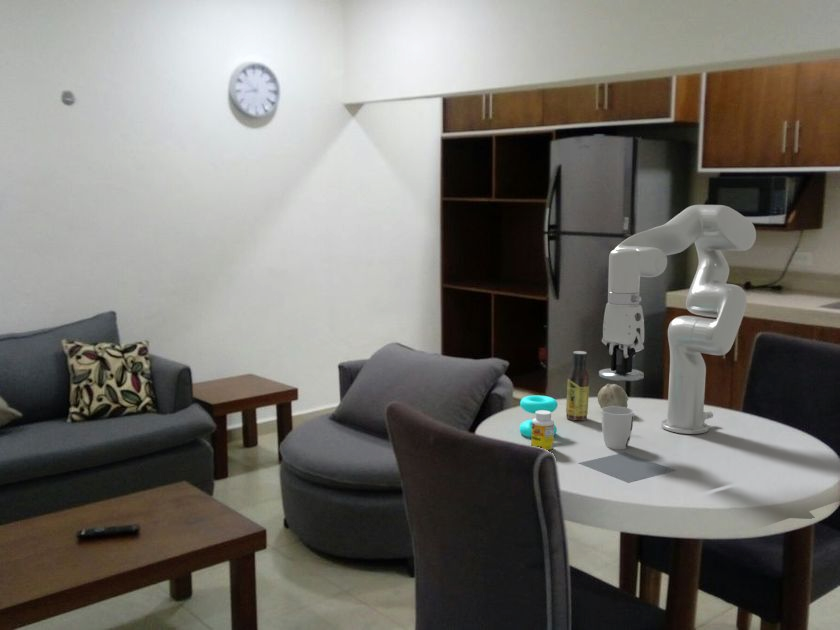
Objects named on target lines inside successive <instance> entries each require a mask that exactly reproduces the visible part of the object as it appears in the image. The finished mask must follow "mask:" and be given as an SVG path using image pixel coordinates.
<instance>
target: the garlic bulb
mask: <svg viewBox="0 0 840 630" xmlns="http://www.w3.org/2000/svg"><path fill="white" fill-rule="evenodd" d="M628 401H629V396H628V395H627V393H626V391H625V389H624V388H623V387H622V386H620V385H618V384H616V383H612V384H611V383H607V384H606V385H604V386H603V387H602V388H600V390H599V392H598V394H597V403H598V404H599V408H600V409H602V408H604V407H625V408H628Z"/></svg>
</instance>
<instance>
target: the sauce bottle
mask: <svg viewBox="0 0 840 630" xmlns="http://www.w3.org/2000/svg"><path fill="white" fill-rule="evenodd" d="M587 358H588V352H587V351H583V350H582V351H581V350H576V351H573V352H572V367H571V369H570V370H569V371H570V372H569V374H568V377H567V385H566V386H567V387H566V403H565V414H566V415H565V416H566V419H568V420H570V421H573V420H578V421H577V422H580V421H579V420H583V421H586V420H587V418H588V413H589V396H590V394H589V393H590V374H589V372H588V370H587Z"/></svg>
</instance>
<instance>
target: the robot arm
mask: <svg viewBox="0 0 840 630" xmlns="http://www.w3.org/2000/svg"><path fill="white" fill-rule="evenodd" d="M756 239H757V232H756V228H755V225H754V224H753V222H752V221H751V220H749V219H748V218H747V217H746V216H745V215H743V214H741V213H740V212H739V211H737V210H735V209H733V208H732V207H730V206H727V205H722V204H694V205H690V206H688V207H686V208H685V209H683V210H682V211H680V213H678V214H676V215H675V216H674V217H673V218H672V219H670V220H669V221H667V222H666V223H664V224H662V225H658V226H655V227H652V228H649V229H647V230H644V231H641V232H638V233H635V234H633V235H631V236H629V237H627V238H626V239H624V240H623V241H621V242H620V243H619V244H618V245H617V246H616V247H615V248H614V249H613V250H611V251H610V253H609V256H608V280H607V281H608V284H607V286H608V287H607V290H608V291H607V303H606V304H605V309H604V315H603V324H602V338H601V342H602V344H604V345H605V346H606V348H607V350H608V353H609V355H610V356H611V357H610V368H611V370H612V371H616V349H618V348H622V346H623V348H624V357H623V358H622V370H621V372H622V373H629V372H632V369H633V358H634V357H635V356H636V354H637V353H638V352H640V351H642V350H644V349H645V346H644V342H645V320H644V311H643V307H642V305H640V303H641V301H642V300H643V299H642V297H641V296H640V282H641V281H640V280H641V277H644V278H654V277H655V278H656V277H658V276H661V275H662V274H663V273H664V272H665V271H666V269H667V265H668V258H667V256H671V255H676V254H679V253H681V252H684V251H685V250H686V249H688V248H689V247H690V246H691V245H693V244H694V245H695V249H696V253H697V258H698V265H697V268H696V272H695V274H694V277H693V280H692V282H691V284H690V288H689V290H688V292H687V295H686V299H685V307H686V309H687V311H688V312H690V313H691V314H694V315H697V316H694V315H679V316H677V317H675V318H673V319H672V320H671V321H670V322H669V325H668V328H667V338H668V339H667V340H668V345H669V377H668V378H669V379H668V395H667V396H668V397H667V416H666V417H667V418H666V419H664V420H663V419H662V421H661V423H660V427H661V428H663V429H664V430H666V431H668V432H671V433H678V434H683V435H684V434H685V435H686V434H687V435H698V434H699V435H700V434H705V433H707V432H708V431H709V425H708V423H706V422H705V421H706V420H708V419H712V418H713V417H714V414H713V412H712V411H704V410H705V409H704V407H705V391H706V375H707V366H706V363H705V360H704V357H703V356H702V354H705V355H706V354H707V355H713V356H725V355H726V354H727V353H728V352H730V350H731V349H732V347H733V345H734V342H735V340H736V337H737V335H738V332H739V329H740V326H741V324H742V321H743V318H744V316H745V313H746V309H747V295H746V292H745V290H744V289H743V288H742V287H741V286H740V285H736V284H732V283H727V281H728V278H729V275H730V266H729V263H728V261H727V259H726V258H725V256H724V254H723V253H722V251H734V252H735V251H736V252H745V251H748V250H750V249H751V248H752V247H753V246H754V244H755V242H756ZM707 317H708V318H707ZM709 317H710V318H709ZM714 318H716V319H714Z"/></svg>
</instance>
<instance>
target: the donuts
mask: <svg viewBox="0 0 840 630" xmlns="http://www.w3.org/2000/svg"><path fill="white" fill-rule="evenodd" d="M519 404H520V405H519V406H520V408H521V409H522V410H524V411H525V412H527V413H528V414H533V415H535V412H536V411H539V410H545V411H549V412H551V413H553V412H554V411H556V410H557V408H558V401H557V400H556V399H555V398H553V397H551V396H547V395H535V394H534V395H528V396H527V395H526V396H525V397H523V398H521V399H520V401H519ZM533 419H534V418H533ZM533 419H527V420H525V421H523V422H521V423H520V426H519V432H520V433H521V435H523V436H524V437H527V438H531V436H532V420H533ZM557 431H558V429H557V426H556V424H554V436H555V435H556V434H557Z"/></svg>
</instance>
